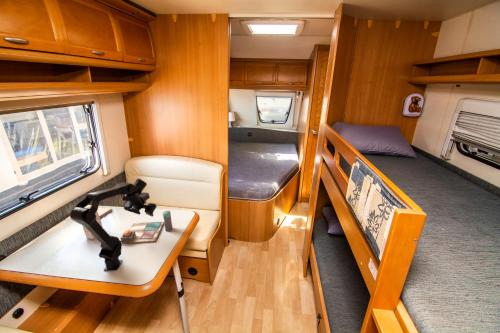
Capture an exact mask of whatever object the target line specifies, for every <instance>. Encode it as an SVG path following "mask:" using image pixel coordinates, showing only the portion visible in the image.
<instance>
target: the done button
mask: <svg viewBox="0 0 500 333" xmlns="http://www.w3.org/2000/svg"><path fill="white" fill-rule="evenodd" d="M123 234H125V237H130V236H131V233H130V230H129V229H128V230H124V232H123Z"/></svg>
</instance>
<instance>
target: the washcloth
mask: <svg viewBox="0 0 500 333" xmlns="http://www.w3.org/2000/svg"><path fill="white" fill-rule="evenodd" d="M97 212H98V214H99V216H100V220H101V219H102V218H104V217H105V216H107V215H108V214H110V213H111V212H113V208H109V207H108V208H107V207H99V206H98V210H97Z"/></svg>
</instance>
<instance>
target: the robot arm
mask: <svg viewBox="0 0 500 333" xmlns="http://www.w3.org/2000/svg"><path fill="white" fill-rule="evenodd" d="M147 184H148V183H147V182H145V180H142V178H139V177H138V178H136V180H135V182H133V183H130V182H119V183H118V184H116V185H114V186H113V187H110V188H106V189H101V190H98V191H95V192H89V193H88V194H87V195H86V196H85V197H84V198H83V199H82V200H81V201H79V202H78V203H77V204H76V205H75V207H74V208H73V209H72V210H71V212H70V215H69V218H70V219H71V220H72V221H74V222H75V223H77V224H80V225H81V226H82V225H84V226H85V227H86V228H87V229H88V230H89V231H90V232H91V233H92V234H93V235H94V236H95V238H96V240H97V241H98V242H100V248H101V249H100V252H99V254H98V257H99V258H100V259H104V264H105V267H104V268H103V271H104V272H105V271H117V270H118V269H119V268H120V266H121V264H122V262H123V259H120V258H119V257H120V256H121V255H122V249H123V248H122V247H123V244H122V243H121V242H122V241H121V239H119V237H118V236H114V235H110V234H109V233H108V232H107V231H106V230H105V228H104V227H103V225H102V226H101V225H100V224H99V223H98V222H97V221H96V215H95V213H96V212H97V210H98V208H99V204H100V202H101V201H104V200H107V199H110V198H114V197H116V196H122V199H121V200H122V201H126V203H125V205H124V206H123V210H124V211H127V212H130V213H133V214H136V215H141V210H142V209H144V213H145V214H146V215H147V216H150V217H152V218H153V217H154V212H155V210H156V208H157V207H158V205H157V204H156V203H152V202H149V203H148V204H146V203H147V201H148V200H149V199H150V197H151V196H150V193H148V192H143V191H144V189H145V188H146V187H147ZM89 204H91V205H90V207H89V208H87V206H88V205H89ZM102 227H103V228H102Z"/></svg>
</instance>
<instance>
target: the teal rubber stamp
mask: <svg viewBox="0 0 500 333" xmlns="http://www.w3.org/2000/svg"><path fill="white" fill-rule="evenodd" d="M171 214H172V213H171V211H170V210H164V211H163V212H162V218H163V222H164V230H165V231H166V232H167V233H169V232H172V231H173V229H174V228H173V222H172V215H171Z"/></svg>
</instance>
